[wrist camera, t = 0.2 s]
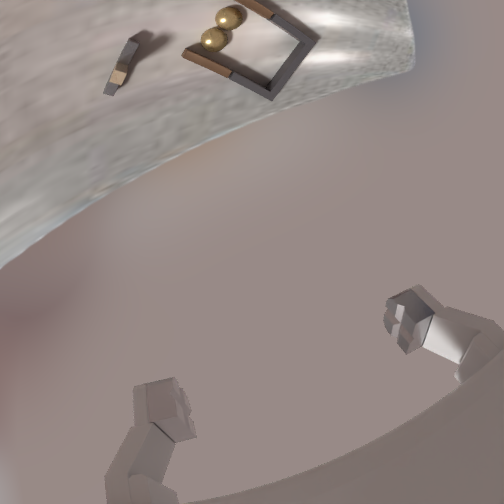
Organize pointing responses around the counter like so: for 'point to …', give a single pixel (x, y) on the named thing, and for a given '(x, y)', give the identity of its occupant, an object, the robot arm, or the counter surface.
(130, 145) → the counter surface
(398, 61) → the counter surface
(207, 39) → the brass chip
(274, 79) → the grey angled bracket
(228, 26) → the brass chip
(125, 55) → the grey post with peg
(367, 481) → the robot arm
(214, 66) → the walnut slot rails
